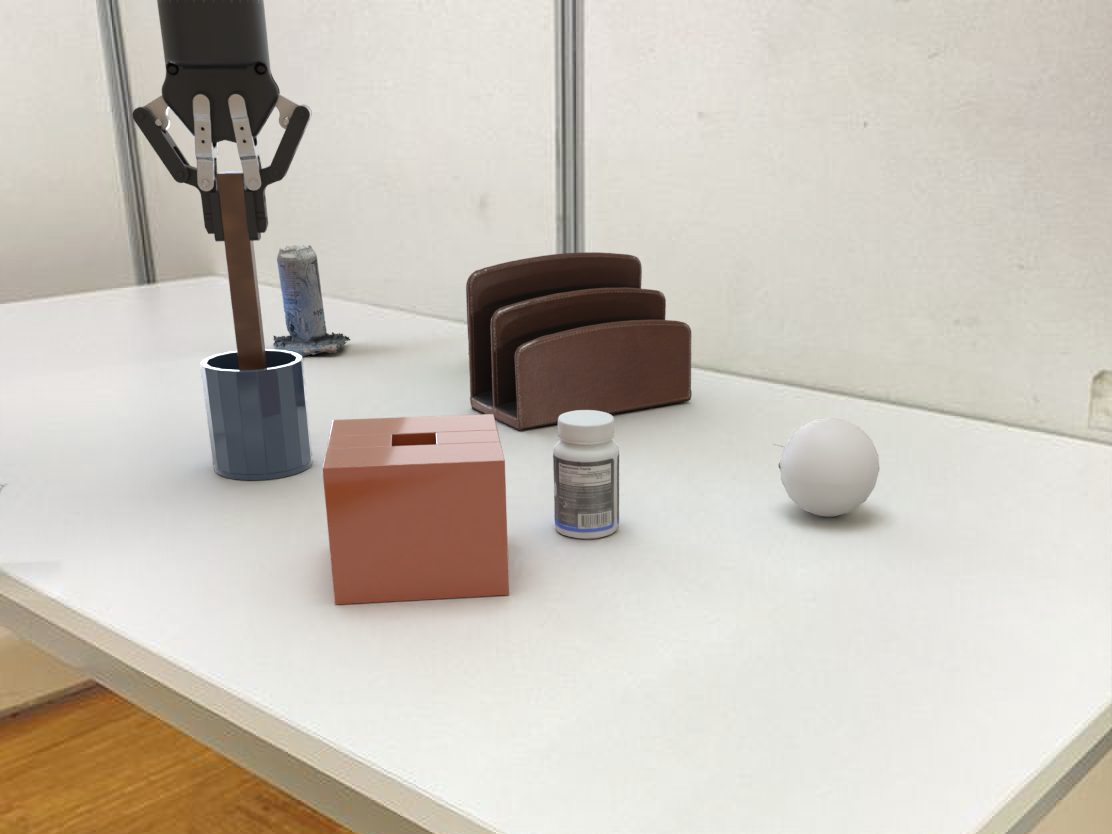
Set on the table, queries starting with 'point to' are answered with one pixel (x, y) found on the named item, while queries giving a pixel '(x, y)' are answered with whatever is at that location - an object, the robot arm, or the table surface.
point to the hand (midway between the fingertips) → (238, 238)
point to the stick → (241, 272)
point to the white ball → (829, 467)
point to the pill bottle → (586, 475)
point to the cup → (257, 416)
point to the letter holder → (571, 339)
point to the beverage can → (303, 304)
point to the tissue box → (416, 508)
